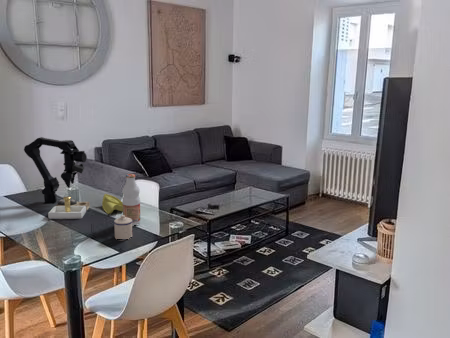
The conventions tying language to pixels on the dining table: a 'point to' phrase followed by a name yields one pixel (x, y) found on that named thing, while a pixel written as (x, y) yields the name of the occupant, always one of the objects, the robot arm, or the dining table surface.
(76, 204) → the plate
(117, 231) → the teacup with lid
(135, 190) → the fruit juice
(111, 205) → the plastic component
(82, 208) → the tray
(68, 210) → the lock pin
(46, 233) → the dining table surface
